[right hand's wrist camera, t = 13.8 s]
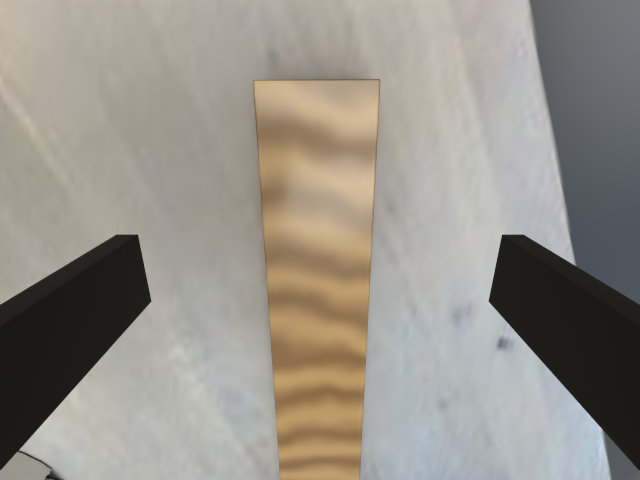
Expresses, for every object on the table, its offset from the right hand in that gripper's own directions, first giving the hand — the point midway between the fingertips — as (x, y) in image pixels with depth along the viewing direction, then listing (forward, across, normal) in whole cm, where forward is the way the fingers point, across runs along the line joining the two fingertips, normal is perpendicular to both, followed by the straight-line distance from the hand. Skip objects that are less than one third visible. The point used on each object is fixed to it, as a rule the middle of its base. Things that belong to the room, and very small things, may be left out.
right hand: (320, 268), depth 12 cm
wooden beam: (+24, 0, -30) cm, 38 cm away
